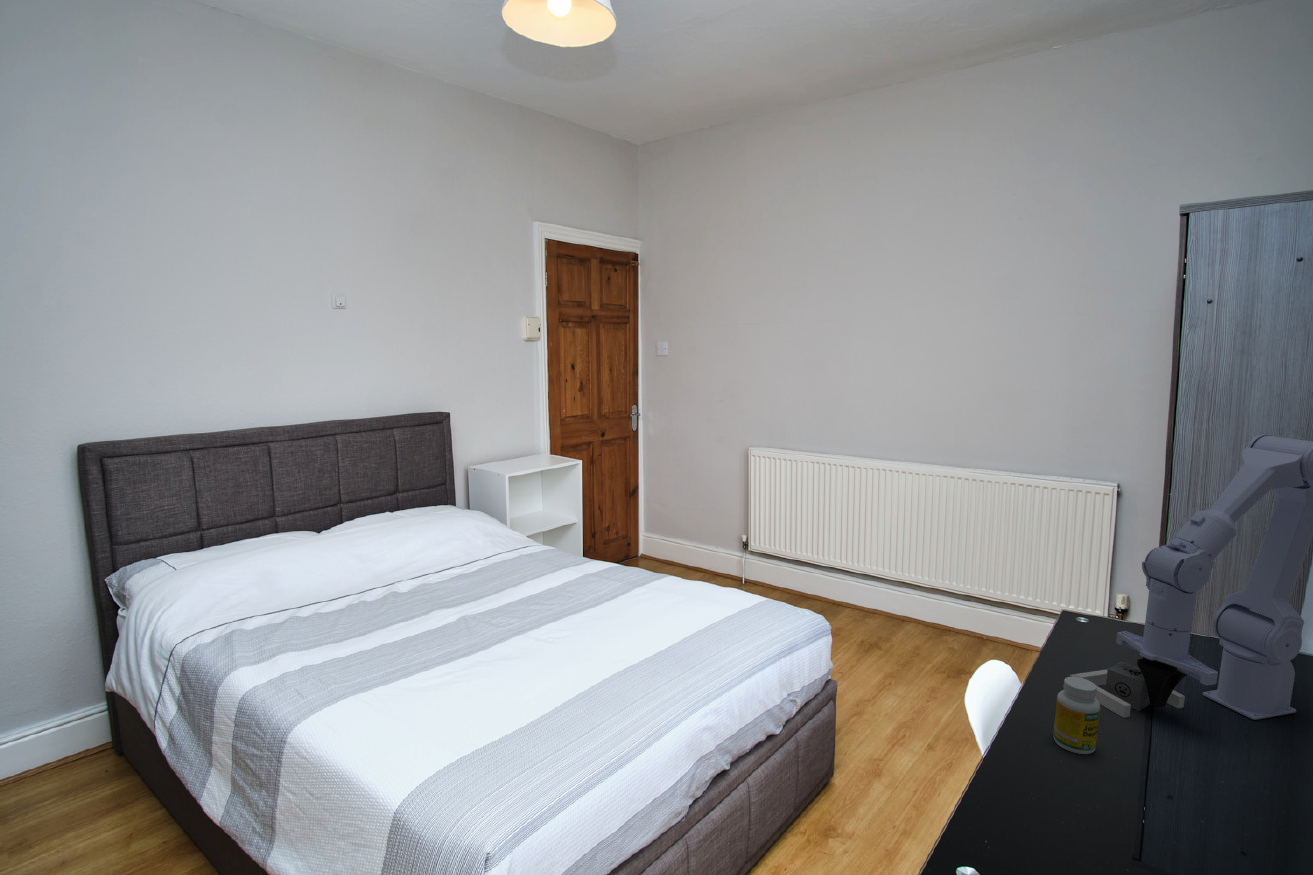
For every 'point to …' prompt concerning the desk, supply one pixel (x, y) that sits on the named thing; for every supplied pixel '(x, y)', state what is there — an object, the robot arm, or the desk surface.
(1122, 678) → the dice cube
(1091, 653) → the desk surface
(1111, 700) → the grey angular bar shape
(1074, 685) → the supplement bottle
